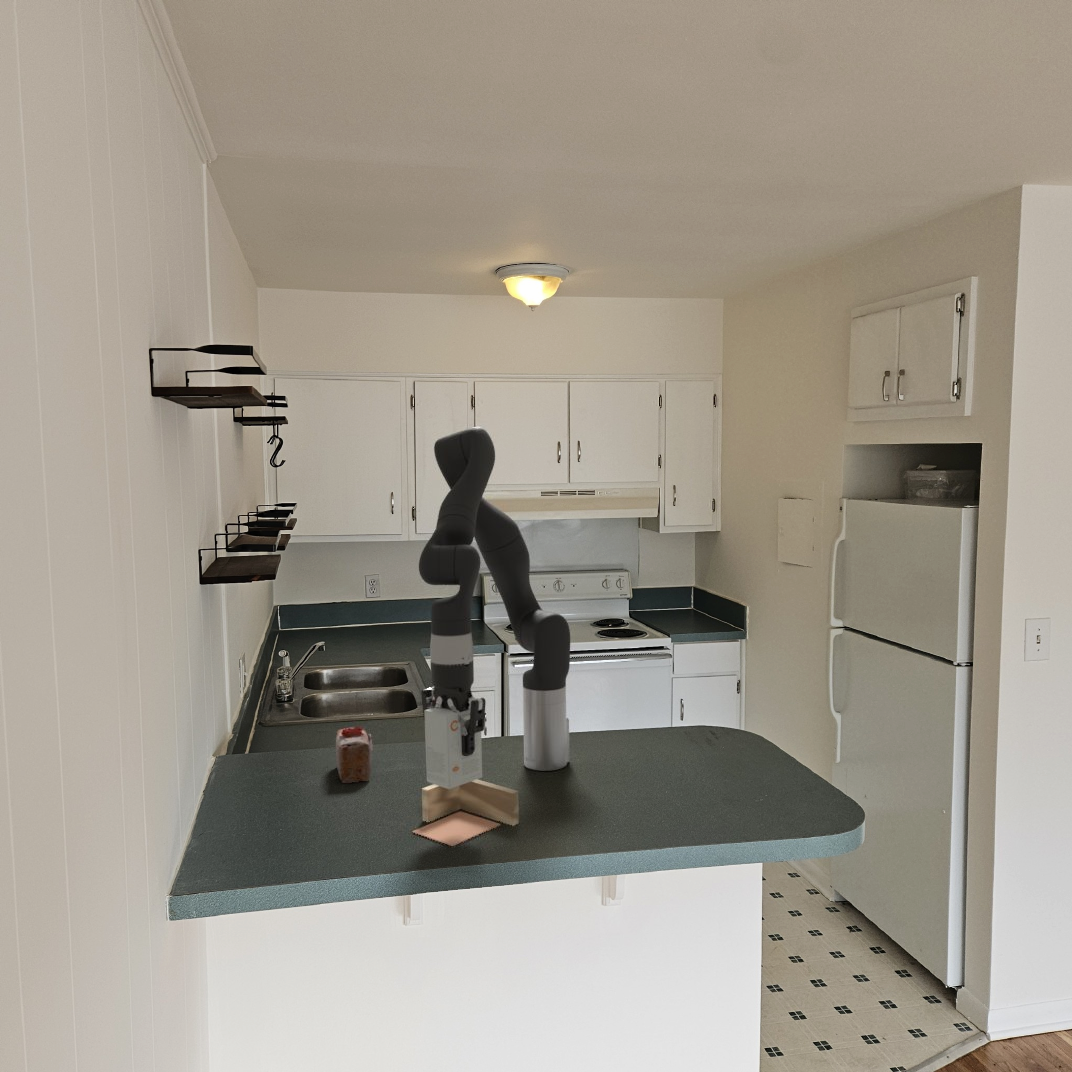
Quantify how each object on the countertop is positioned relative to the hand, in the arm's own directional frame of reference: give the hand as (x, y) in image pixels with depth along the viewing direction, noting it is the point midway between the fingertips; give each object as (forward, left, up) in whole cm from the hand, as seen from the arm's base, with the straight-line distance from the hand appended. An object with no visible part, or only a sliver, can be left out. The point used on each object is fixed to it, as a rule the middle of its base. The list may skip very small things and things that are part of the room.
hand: (453, 750), depth 165 cm
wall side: (-4, -7, -14) cm, 16 cm away
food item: (-9, -39, -15) cm, 42 cm away
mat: (0, 0, -14) cm, 14 cm away
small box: (0, 0, -5) cm, 5 cm away
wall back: (-8, 0, -14) cm, 16 cm away
